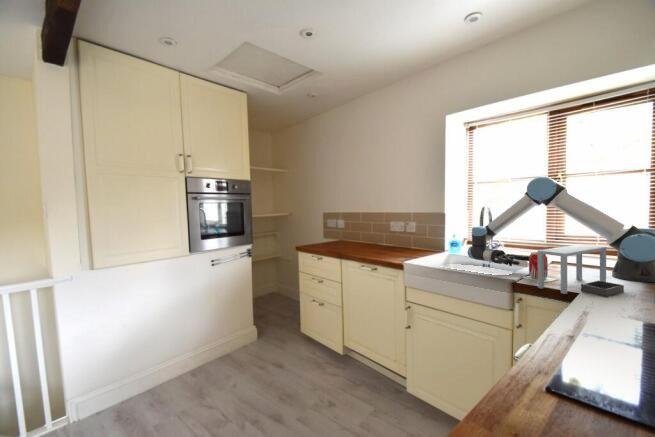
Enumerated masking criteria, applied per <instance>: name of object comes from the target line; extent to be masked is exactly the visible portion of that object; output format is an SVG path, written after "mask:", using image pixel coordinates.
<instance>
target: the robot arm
mask: <svg viewBox="0 0 655 437" xmlns="http://www.w3.org/2000/svg"><path fill="white" fill-rule="evenodd" d="M542 204H543V206H545V207H547V208H551V207H553V208H556V209H557V210H558V211H560V212H562V214H565V215H566V216H568V217H570V218H572V219H573V220H575V221H576V222H578V223H579V224H581V225H582V226H583V227H586V228H587V229H589V230H591V231H592V232H594V233H596V234H597V235H599V236H600V237H602V238H603V239H605V240H606V243H607V244H606V245H608V246H609V247H610V248H613V249H614V250H615V251H617V256H616V258H617V260H616V262H615V263H614V266H613V269H612V271H611V276H612V277H613V278H617V279H621V280H626V281H634V282H640V283H641V282H643V283H655V230H654V229H653V228H641V227H640V228H639V227H637V226H635V225H634V224H624V223H622V222H620V221H619V220H617V219H615V218H613V217H611V216H610V215H608V214H606V213H604V212H603V211H601V210H600V209H597V208H596V207H594V206H592V205H590V204H589V203H587V202H585V201H584V200H582V199H580V198H578V197H577V196H575V195H573V194H572V193H570V192H569V191H568V187H566V186H564V184H562V183H559V182H558V181H556V180H555V179H553V178H551V177H549V176H544V175H541V176H537V177H535V178H533V179H532V180H530V181H529V182H528V184H527V186H526V192H524V196H522V197H521V198H520V199H519V200H518V201H516V202H515V203H514V204H513V205H511V206H510V207H509V208H507V209H506V210H505V211H503V212H502V213H501V214H499V215H498V216H496V218H494V219H493V220H492V221H491V222H489V223H488V224H487V225H485V226H473V227H472V228H471V246H469V247H468V248H467V251H466V252H467V256H468V257H469V258H470V259H472V260H477V261H482V262H487V263H489V264H491V263H494V264H499V265H506V266H509V267H513V266H518V267H524V268H529V256H530V255H525V254H513V253H511V254H510V253H506V252H505V251H504V250H502V249H496V248H495V249H494V248H489V247H488V248H487V245H488V244H487V242H488V241H490V240H492V239H493V238H494V237H495V236H497V235H498V234H499V233H500V232H502V231H503V230H504V229H506V228H508V227H509V226H510V225H511V224H513V223H514V222H515V221H517V220H518V219H520V218H521V217H522V216H524V214H527V213H528V212H529V211H530V210H532V209H533V208H535V207H537V206H538V207H539V206H541V205H542Z"/></svg>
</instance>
